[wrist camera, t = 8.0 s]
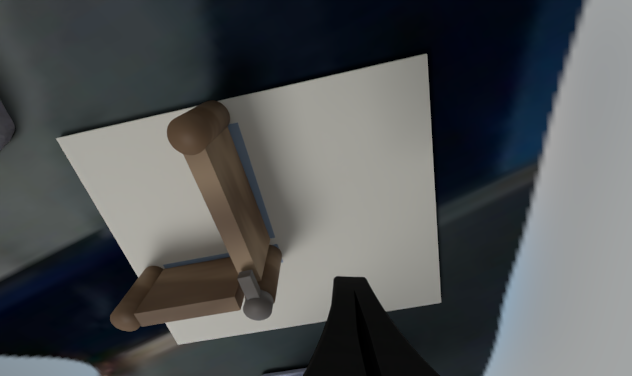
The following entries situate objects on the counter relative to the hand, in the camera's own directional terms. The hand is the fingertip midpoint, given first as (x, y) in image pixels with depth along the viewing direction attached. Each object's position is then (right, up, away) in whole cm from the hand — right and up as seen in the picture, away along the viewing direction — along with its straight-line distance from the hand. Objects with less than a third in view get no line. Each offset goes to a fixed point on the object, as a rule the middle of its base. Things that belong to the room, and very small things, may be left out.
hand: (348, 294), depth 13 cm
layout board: (-4, +2, +10) cm, 11 cm away
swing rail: (-6, +4, +8) cm, 11 cm away
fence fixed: (-10, -2, +11) cm, 15 cm away
